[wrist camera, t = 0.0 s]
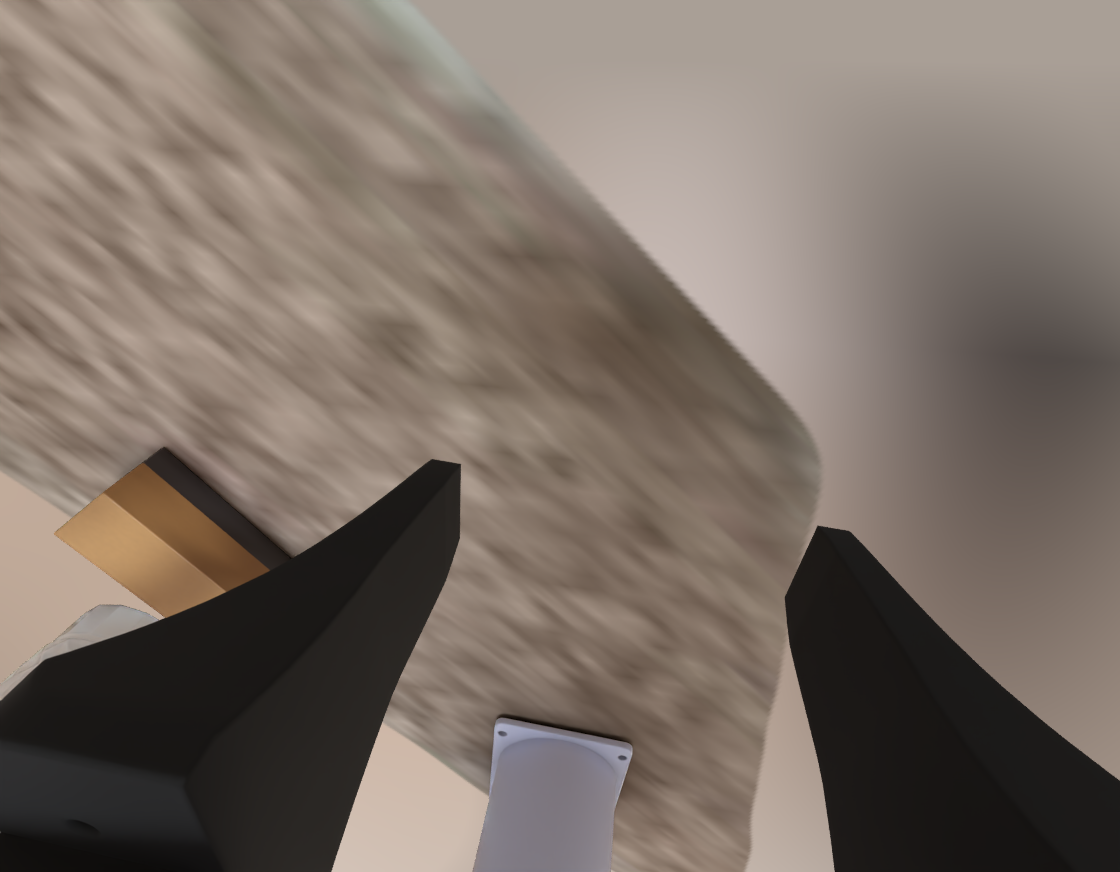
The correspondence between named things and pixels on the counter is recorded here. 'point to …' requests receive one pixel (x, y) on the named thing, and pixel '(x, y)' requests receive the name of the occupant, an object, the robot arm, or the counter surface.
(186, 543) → the scrub brush
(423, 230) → the counter surface
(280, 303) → the counter surface
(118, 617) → the white cup
